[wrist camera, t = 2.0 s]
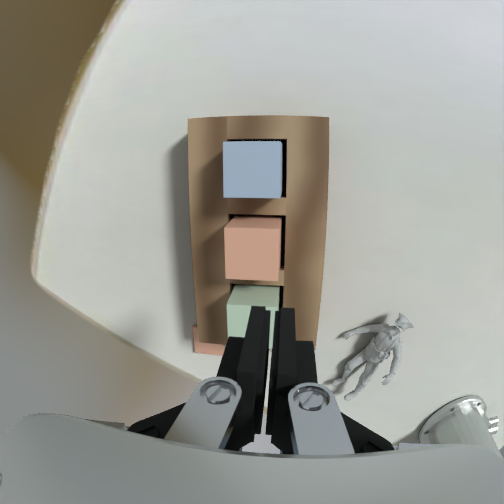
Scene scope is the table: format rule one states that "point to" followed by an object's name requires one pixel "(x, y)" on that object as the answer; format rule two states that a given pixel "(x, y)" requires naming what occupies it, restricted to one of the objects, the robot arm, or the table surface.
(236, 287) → the mint green block
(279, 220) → the salmon pink rectangular block
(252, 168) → the light blue block
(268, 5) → the table surface
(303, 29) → the table surface
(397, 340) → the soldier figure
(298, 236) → the board
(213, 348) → the tile
